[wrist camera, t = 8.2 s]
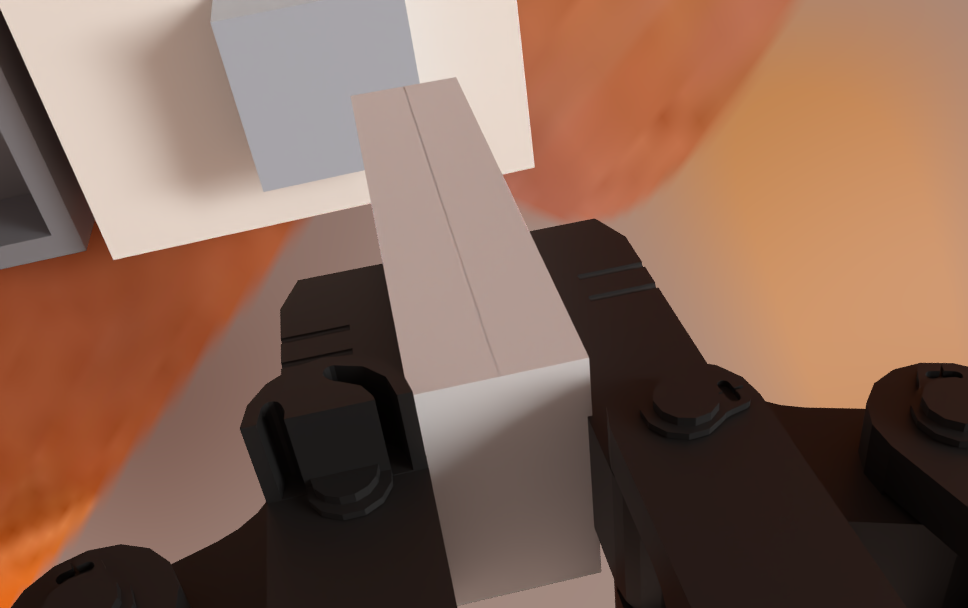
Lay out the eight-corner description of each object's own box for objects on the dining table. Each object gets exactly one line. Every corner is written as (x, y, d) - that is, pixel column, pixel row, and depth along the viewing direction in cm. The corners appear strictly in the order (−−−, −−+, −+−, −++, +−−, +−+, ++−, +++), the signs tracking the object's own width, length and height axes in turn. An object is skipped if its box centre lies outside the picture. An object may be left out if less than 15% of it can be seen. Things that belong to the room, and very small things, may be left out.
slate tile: (213, -7, 25) (210, 22, 23) (389, -41, 26) (401, -16, 24) (262, 154, 28) (263, 192, 26) (419, 121, 29) (432, 155, 27)
